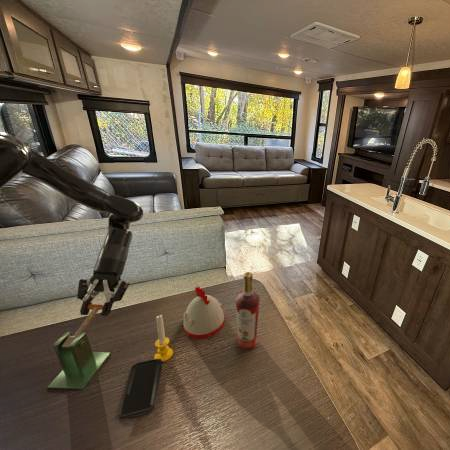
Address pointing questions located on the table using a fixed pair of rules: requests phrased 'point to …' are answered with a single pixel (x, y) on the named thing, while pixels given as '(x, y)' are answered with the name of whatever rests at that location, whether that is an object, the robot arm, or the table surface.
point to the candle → (162, 342)
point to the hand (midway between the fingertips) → (94, 315)
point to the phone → (141, 389)
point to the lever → (83, 326)
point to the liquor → (247, 314)
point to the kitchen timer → (203, 316)
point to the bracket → (76, 363)
